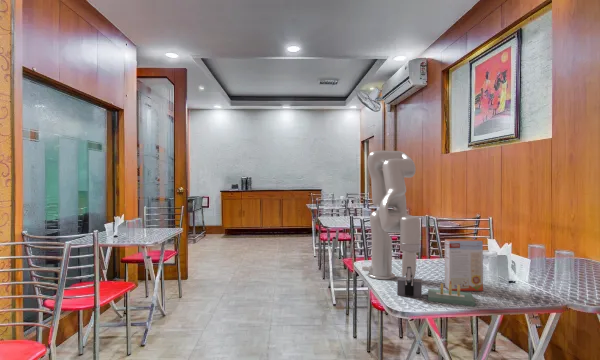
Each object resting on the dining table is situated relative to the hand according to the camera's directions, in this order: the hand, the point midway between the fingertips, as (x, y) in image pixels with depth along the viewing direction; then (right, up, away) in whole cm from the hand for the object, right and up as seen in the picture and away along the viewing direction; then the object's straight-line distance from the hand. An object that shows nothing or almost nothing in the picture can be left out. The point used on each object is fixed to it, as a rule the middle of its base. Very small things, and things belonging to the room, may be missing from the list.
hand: (409, 293), depth 145 cm
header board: (+14, -1, -4) cm, 15 cm away
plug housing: (0, -1, 0) cm, 1 cm away
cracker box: (+25, -1, +9) cm, 27 cm away
